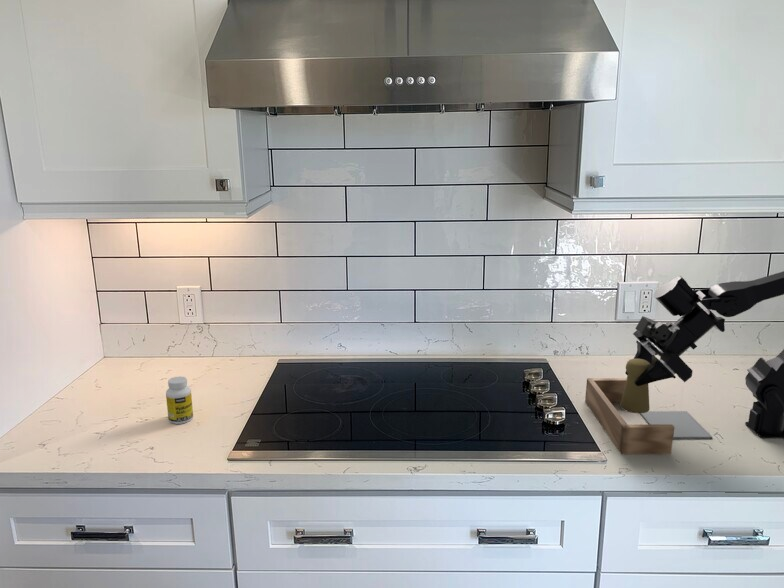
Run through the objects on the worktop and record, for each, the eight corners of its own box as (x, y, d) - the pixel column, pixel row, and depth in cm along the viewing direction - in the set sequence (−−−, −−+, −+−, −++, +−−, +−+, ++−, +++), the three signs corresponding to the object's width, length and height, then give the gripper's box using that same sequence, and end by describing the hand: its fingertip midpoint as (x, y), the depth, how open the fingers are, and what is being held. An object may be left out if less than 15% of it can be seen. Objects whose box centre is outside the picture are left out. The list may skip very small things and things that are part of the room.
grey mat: (686, 412, 145) (686, 411, 145) (712, 438, 133) (712, 436, 133) (639, 412, 145) (639, 411, 145) (660, 438, 133) (660, 437, 133)
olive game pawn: (631, 414, 134) (635, 367, 131) (614, 403, 140) (618, 357, 137) (655, 411, 136) (660, 363, 133) (638, 399, 141) (642, 354, 138)
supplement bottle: (176, 427, 139) (172, 386, 136) (164, 419, 143) (159, 380, 140) (198, 418, 143) (194, 379, 140) (185, 411, 146) (181, 372, 144)
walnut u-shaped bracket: (627, 401, 151) (629, 378, 149) (671, 453, 127) (674, 427, 126) (585, 401, 151) (587, 378, 149) (621, 454, 127) (623, 427, 126)
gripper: (645, 293, 140) (593, 340, 143) (683, 319, 122) (622, 372, 126) (677, 325, 143) (624, 371, 146) (718, 356, 125) (657, 407, 128)
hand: (631, 379), depth 136 cm, fingers closed on olive game pawn, 5 cm apart
